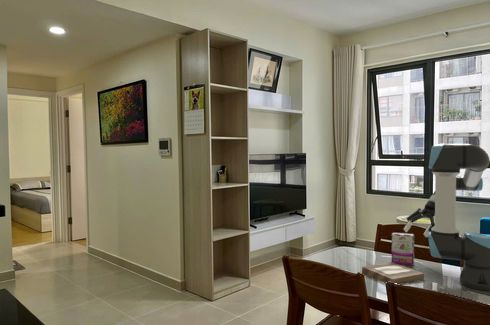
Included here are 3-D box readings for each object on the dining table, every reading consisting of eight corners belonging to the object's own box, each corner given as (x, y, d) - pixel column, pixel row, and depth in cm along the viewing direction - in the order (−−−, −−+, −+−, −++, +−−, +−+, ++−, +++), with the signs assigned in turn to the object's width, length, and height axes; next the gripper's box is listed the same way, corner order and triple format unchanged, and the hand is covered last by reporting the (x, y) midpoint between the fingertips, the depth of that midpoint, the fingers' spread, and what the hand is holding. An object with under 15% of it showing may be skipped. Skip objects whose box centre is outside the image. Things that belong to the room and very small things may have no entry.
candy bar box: (414, 263, 199) (414, 233, 199) (413, 266, 195) (413, 235, 194) (392, 261, 204) (392, 231, 204) (391, 263, 200) (391, 233, 200)
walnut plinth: (424, 279, 174) (424, 273, 174) (392, 285, 166) (392, 278, 166) (391, 267, 192) (391, 261, 192) (362, 272, 184) (362, 266, 184)
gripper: (457, 212, 199) (437, 242, 193) (419, 206, 222) (400, 232, 216) (451, 203, 196) (430, 233, 191) (413, 197, 219) (394, 224, 214)
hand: (414, 233), depth 203 cm, fingers open, 13 cm apart
